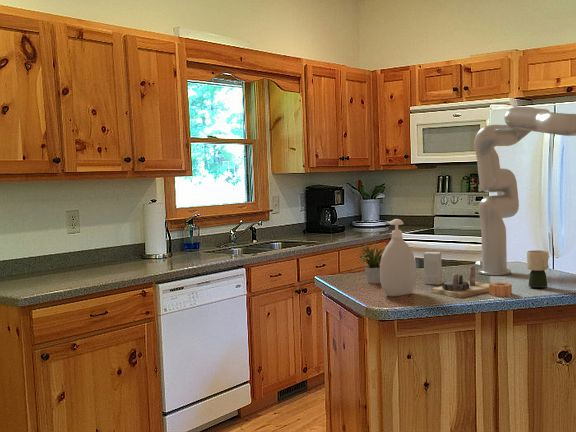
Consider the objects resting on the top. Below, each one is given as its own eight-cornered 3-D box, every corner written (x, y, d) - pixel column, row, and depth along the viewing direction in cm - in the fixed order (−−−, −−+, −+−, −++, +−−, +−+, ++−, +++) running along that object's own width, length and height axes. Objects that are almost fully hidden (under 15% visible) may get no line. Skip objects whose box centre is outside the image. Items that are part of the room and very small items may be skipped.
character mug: (556, 290, 205) (555, 252, 204) (537, 291, 204) (536, 254, 203) (538, 284, 216) (538, 249, 215) (520, 285, 215) (520, 250, 214)
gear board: (431, 292, 210) (430, 268, 210) (469, 284, 221) (468, 262, 220) (459, 298, 199) (459, 273, 199) (498, 289, 210) (497, 265, 209)
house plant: (347, 284, 231) (346, 243, 229) (359, 278, 243) (357, 239, 242) (383, 286, 224) (381, 243, 223) (393, 279, 237) (391, 239, 236)
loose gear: (484, 294, 203) (484, 284, 203) (498, 291, 207) (498, 281, 207) (502, 297, 197) (502, 287, 197) (516, 294, 201) (515, 284, 201)
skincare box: (442, 282, 226) (441, 251, 225) (440, 285, 222) (439, 253, 221) (426, 282, 229) (425, 251, 228) (424, 284, 225) (423, 253, 224)
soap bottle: (408, 290, 216) (405, 216, 214) (421, 294, 208) (419, 217, 206) (373, 295, 210) (371, 219, 208) (386, 299, 203) (383, 221, 201)
